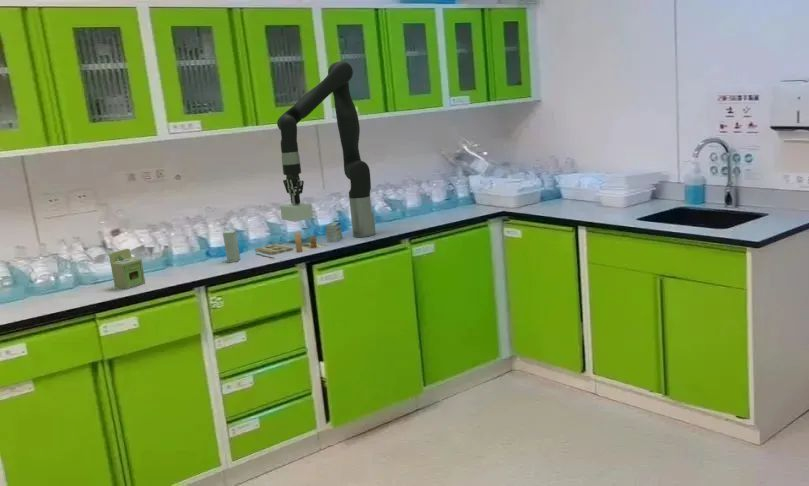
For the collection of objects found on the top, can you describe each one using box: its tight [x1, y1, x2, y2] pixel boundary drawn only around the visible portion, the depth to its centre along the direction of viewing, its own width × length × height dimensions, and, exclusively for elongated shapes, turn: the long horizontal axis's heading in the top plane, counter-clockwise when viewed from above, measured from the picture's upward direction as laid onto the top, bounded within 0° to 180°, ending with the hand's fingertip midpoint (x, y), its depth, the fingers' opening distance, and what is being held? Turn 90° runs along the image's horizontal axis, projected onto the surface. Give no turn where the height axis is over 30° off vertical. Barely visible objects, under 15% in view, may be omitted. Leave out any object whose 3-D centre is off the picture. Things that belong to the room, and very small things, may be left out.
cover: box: [279, 193, 314, 223], centre depth 323 cm, size 9×11×11 cm
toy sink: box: [108, 248, 146, 290], centre depth 277 cm, size 8×7×13 cm
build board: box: [254, 243, 294, 259], centre depth 312 cm, size 10×14×2 cm
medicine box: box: [325, 221, 343, 243], centre depth 322 cm, size 8×4×9 cm, turn 168°
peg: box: [294, 232, 304, 253], centre depth 305 cm, size 2×2×9 cm
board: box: [293, 236, 328, 251], centre depth 314 cm, size 10×12×6 cm
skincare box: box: [222, 229, 241, 263], centre depth 305 cm, size 6×4×12 cm
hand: (295, 203), depth 323 cm, fingers closed on cover, 2 cm apart
